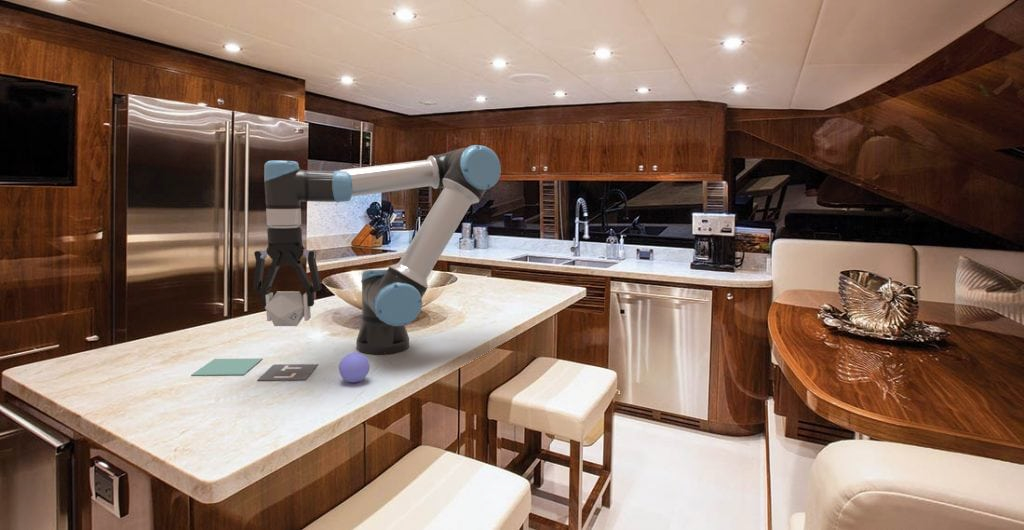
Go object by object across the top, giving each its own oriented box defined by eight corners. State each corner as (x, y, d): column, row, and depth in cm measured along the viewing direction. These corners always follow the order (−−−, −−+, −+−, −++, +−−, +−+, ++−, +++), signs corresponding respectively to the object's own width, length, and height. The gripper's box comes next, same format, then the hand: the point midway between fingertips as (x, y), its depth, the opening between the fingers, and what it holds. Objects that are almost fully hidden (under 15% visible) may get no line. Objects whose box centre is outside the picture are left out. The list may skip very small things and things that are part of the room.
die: (283, 334, 118) (309, 298, 120) (251, 314, 118) (277, 278, 120) (295, 337, 126) (319, 303, 128) (266, 318, 126) (290, 284, 129)
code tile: (317, 365, 131) (317, 364, 131) (305, 380, 121) (305, 379, 121) (273, 365, 130) (273, 364, 130) (257, 381, 119) (257, 379, 119)
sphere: (369, 375, 125) (369, 348, 124) (369, 385, 119) (369, 357, 118) (339, 377, 123) (339, 349, 122) (337, 387, 117) (337, 358, 116)
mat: (262, 359, 135) (262, 358, 135) (244, 375, 123) (243, 374, 123) (214, 359, 133) (214, 358, 133) (191, 375, 121) (191, 374, 121)
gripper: (333, 225, 125) (336, 315, 129) (244, 225, 123) (250, 316, 126) (325, 227, 118) (329, 322, 121) (231, 227, 116) (238, 324, 119)
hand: (289, 319), depth 124 cm, fingers closed on die, 8 cm apart
